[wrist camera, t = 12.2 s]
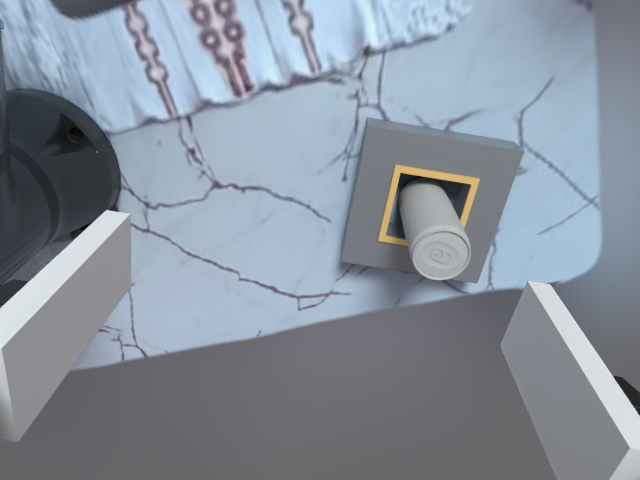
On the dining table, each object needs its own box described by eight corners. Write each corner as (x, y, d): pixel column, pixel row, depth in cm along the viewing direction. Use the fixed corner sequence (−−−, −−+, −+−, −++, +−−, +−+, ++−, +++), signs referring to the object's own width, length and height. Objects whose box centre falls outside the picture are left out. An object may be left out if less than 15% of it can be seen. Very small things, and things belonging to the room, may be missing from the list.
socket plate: (341, 247, 53) (341, 263, 50) (367, 117, 46) (368, 126, 43) (470, 268, 53) (477, 284, 50) (513, 141, 46) (524, 152, 44)
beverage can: (412, 167, 48) (430, 218, 37) (455, 187, 49) (485, 243, 38) (389, 208, 50) (399, 268, 40) (430, 227, 51) (452, 290, 40)
